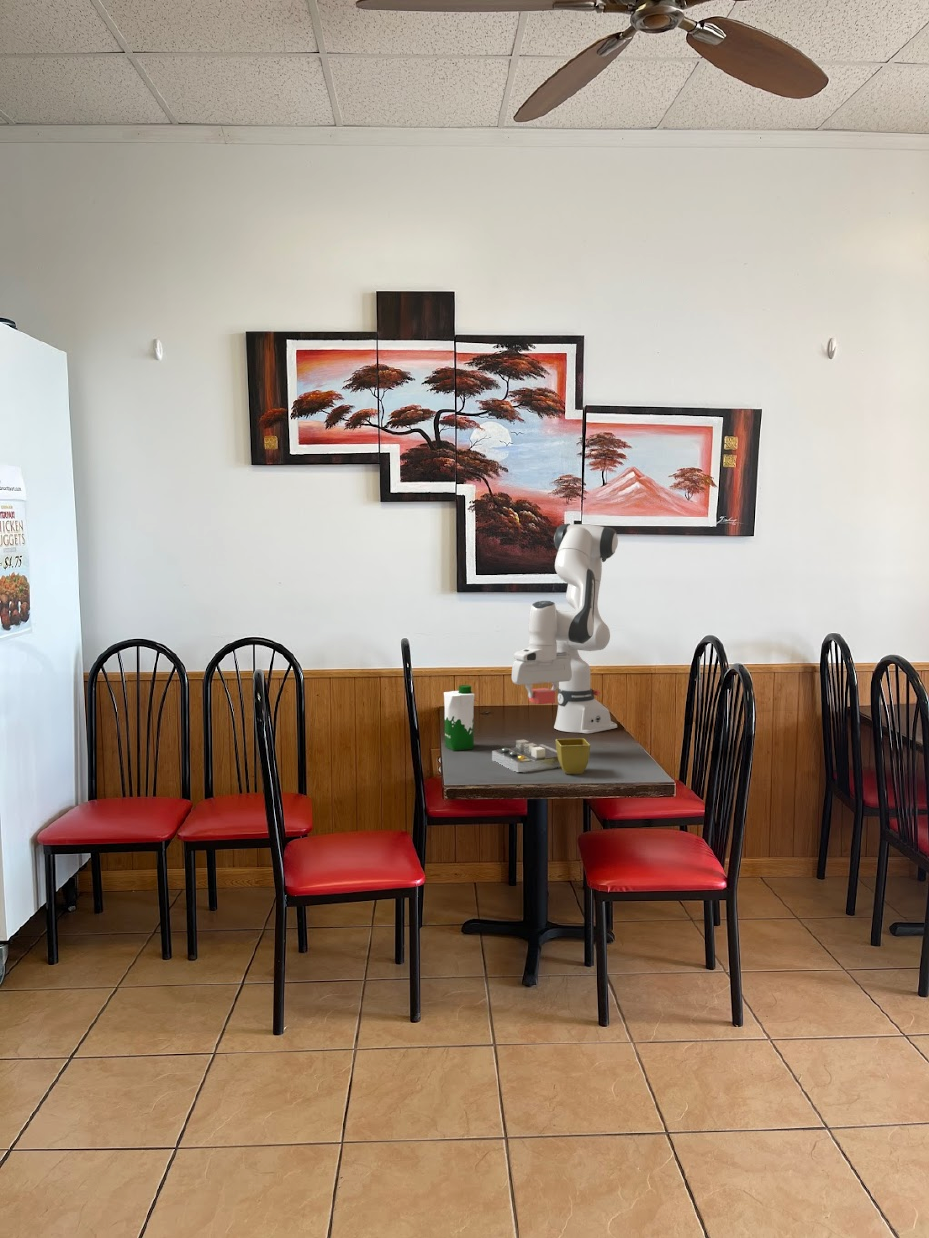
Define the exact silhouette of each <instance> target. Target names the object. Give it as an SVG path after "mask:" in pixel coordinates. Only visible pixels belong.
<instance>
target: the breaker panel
mask: <svg viewBox="0 0 929 1238" xmlns="http://www.w3.org/2000/svg"><path fill="white" fill-rule="evenodd" d="M533 747H542V748H545V757H542V758H535V757H533V756H531V748H533ZM494 761H496V762H498V763H499V764H498V763H497V764H498V765H500V764H501V765H500V766H502V765H503V766H502V767H503V768H504V767H505V768H506V769H508V768H509V769H508V770H510V771H512V772H514V771H516V772H522V771H530V772H536V771H542V770H549V769H550V770H551V769H557V767H558V768H561V766H560V763H559V761H558V757H557V750H556V748H555V749H554V748H552V747H550V746H547V745H546V744H542V743H541V744H535V742H530V741H529V740H526V739H517V740H515V746H514V747H510V748H508V747H501V748H500V749H495V750H491V762H494ZM496 762H495V763H496ZM516 772H515V773H516Z"/></svg>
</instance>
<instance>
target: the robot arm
mask: <svg viewBox="0 0 929 1238" xmlns="http://www.w3.org/2000/svg"><path fill="white" fill-rule="evenodd" d="M618 538H619V537H618V534H617V531H616V529H614V528H612V527H609V526H601V525H600V526H599V525H596V524H590V523H588V524H583V523H582V524H581V523H580V524H578V523H577V524H575V523H574V524H571V523H563V524H560V525H559V526H558V527H557V528H556V530H555V533H554V537H553V542H554V547H555V549H556V550H557V554H556V557H555V560H554V561H555V562H554V569H555V572H556V574H557V576H558V577H559V578H560V579H561V580H562V581H564V582H565V583H566V584H567V588H566V593H565V594H566V595H565V599H566V601H567V603H568V605H569V606H571V607H572V608H574V610H573V611H571V610H570V611H569V610H558V609H557V606H556V603H555V602H554V601H550V600H540V601H539V600H538V601H535V602H534V603H532V604H531V606H530V610H529V611H530V612H529V618H528V632H529V633H528V634H529V640H528V646H527V647H525V648H523V649H520V650H518V651H516V652H514V654H513V658H514V659H515V660H514V661H513V664H512V668H511V681H512V683H513V684H515V685H517V686H519V685H520V686H521V685H525V686H524V688H525V689H526V691H527V692H528V693H527V694H528V695H527V696H528V697H527V698H528V699H529V698H535V692H533V691H532V689H533V684H534V685H535V684H546V683H547V684H548V683H549V684H550V683H551V685H552V687H551V689H550V690H554V691H555V693H556V692H557V697H556V698H557V712H556V718H555V722H554V726H553V728H554V729H556V730H558V731H561V732H567V733H578V734H579V733H580V734H581V733H582V734H593V733H599V732H603V731H607V730H612V729H616V728H617V729H618V724H617V723H616V722H613V721H612V720H611V714H610V713H611V712H610V710H609V709H608V708H607V707H606V706H604V705H603V704H602V703H601V702H600V701H598V700H597V699H596V698H595V696H597V697H599V696H600V694H601V691H600V689H593V688H591V680H592V679H591V667H590V665H589V664H588V662H587V661H585V660H584V659H583V658H582V657H581V655H580V654H579V651H583V652H585V651H586V652H594V651H601V650H604V649H605V648H606V647H607V646H608V645H609V642H610V638H611V632H610V628H609V626H608V625H607V624H606V623H605V621H604V620H603V619H602V617H601V615H600V612H599V605H598V602H599V593H600V587H601V582H602V581H601V580H602V571H603V568H602V567H603V563H605V562H606V561H607V559H609V558H611V557H612V556H614V554H615V553H616V550H617V548H618V544H619V539H618Z"/></svg>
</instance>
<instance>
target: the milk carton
mask: <svg viewBox="0 0 929 1238" xmlns="http://www.w3.org/2000/svg"><path fill="white" fill-rule="evenodd" d="M475 695H476V694H475V693H473V692H472V686H471V685H468V684H464V685H463V684H462V685H461V684H460V685H458V690H451V691H444V692H443V703H444V704H443V705H444V743H445V745H444V746H445V747H446V748H447V749H450V750H451V751H453V752H459V751H464V750H473V749H474V748H475V747H474V741H475V740H474V739H475V738H474V726H475V725H474V706H475V705H474V704H475Z"/></svg>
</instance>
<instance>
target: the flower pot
mask: <svg viewBox="0 0 929 1238" xmlns="http://www.w3.org/2000/svg"><path fill="white" fill-rule="evenodd" d="M555 750H557V757H558V761H559V763H560V766H561V767H560V768H561V769H562V771H563V772H564V773H565V774H567V775H571V774H573V775H574V774H579V775H581V774H583V773H584V772H585V770H586V768H587V767H588V763H589V759H590V752H591V751H590V750H591V744H590V743H589V742H588V741H587V740H586V739H585V738H556V739H555Z"/></svg>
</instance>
